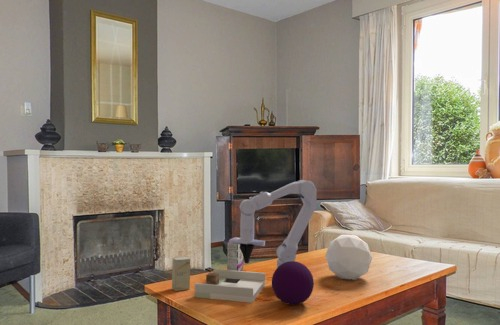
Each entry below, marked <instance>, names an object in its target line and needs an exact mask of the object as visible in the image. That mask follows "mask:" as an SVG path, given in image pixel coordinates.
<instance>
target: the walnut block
mask: <svg viewBox="0 0 500 325" xmlns="http://www.w3.org/2000/svg"><path fill="white" fill-rule="evenodd" d="M205 277H206V278H205V283H206V284H213V285H217V284H219V273H213V272H208V273H207V274H206V275H205Z"/></svg>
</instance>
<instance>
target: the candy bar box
mask: <svg viewBox="0 0 500 325" xmlns="http://www.w3.org/2000/svg"><path fill="white" fill-rule="evenodd" d="M231 239H240V237H236V236H235V237H232V238H231ZM226 245H227V247H226V249H227V252H226V254H227V255H226V256H227V257H226V258H227V259H226V262H227V265H226V266H227V267H226V268H227V269H226V270H234V271H244V257H243V254H242V252H241V250H240V244H229V240H228V241H227V244H226Z"/></svg>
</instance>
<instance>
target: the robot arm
mask: <svg viewBox="0 0 500 325" xmlns="http://www.w3.org/2000/svg"><path fill="white" fill-rule="evenodd" d="M317 191H318V189H317V187H316V186H315V184H314V183H313V181H311V180H305V179H299V180H297V181H293V182H290V183H288V184H285V185H284V186H281V187H279V188H278V189H276V190H274V191H271V192H268V191H260V192H259V194H256V195H254V196H250V197H248V198H249V199H244V200H242V201H241V202H240V204H239V210H240V220H239V221H240V223H239V225H240V226H239V227H240V229H239V231H240V232H239V235H240V236H239V238H240V239H232V238H230V239H229V240H228V241H229V244H240V250H241V252H242V254H243V262H244V264H249V263H250V259H251V255H252V252H253V250H254V248H255V246H261V247H265V246H266V240H261V239H255V212H256V211H260V210H262V209H264V208H266V207H269V206H270V205H272V203H273V201H275V200H277V199H279V198H282V197H284V196H287V195H291V194H292V195H293V194H294V195H295V194H296V195H298V196H299V197H300V198H301V201H302V206H301V208H300V211H299V212H298V215H297V216H296V219H295V221H294V223H293V225H292V227H291V229H290V231H289V232H288V235H287V236H286V238H285V239H284V240H283V242H281V244H280V245H279V246H278V247H277V248H276V253H275V254H276V256H277V258H278V259H277V260H276V269H277V268H278V267H279V266H280V265H281V264H283V263H285V262H289V261H296V258H297V257H296V256H297V251H298V249H299V248H298V245H299V242H300V240H301V238H302V237H303V235H304V232H305V230H306V228H307V227H308V224H309V223H310V220H311V219H312V216H313V215H314V212H315V210H316V208H317V206H318V200H317V193H318V192H317Z"/></svg>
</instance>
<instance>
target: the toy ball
mask: <svg viewBox="0 0 500 325" xmlns="http://www.w3.org/2000/svg"><path fill="white" fill-rule="evenodd" d="M314 283H315V282H314V276H313V274H312V272H311V270H310V269H309V268H308V267H307V266H306V265H305V264H303V263H301V262H299V261H296V260H295V261H289V262H285V263H283V264H281V265H280V266H279V267H278V268H277V267H276V269H275V270H274V271H273V273H272V276H271V287H272V291H273V293H274V295H275V296H276V298H277V299H278V300H279V301H280V302H282V303H284V304H287V305H291V306H296V305H299V304H302V303H304V302H306V301H307V300H308V299H309V298H310V296H311V295H312V293H313V290H314Z"/></svg>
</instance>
